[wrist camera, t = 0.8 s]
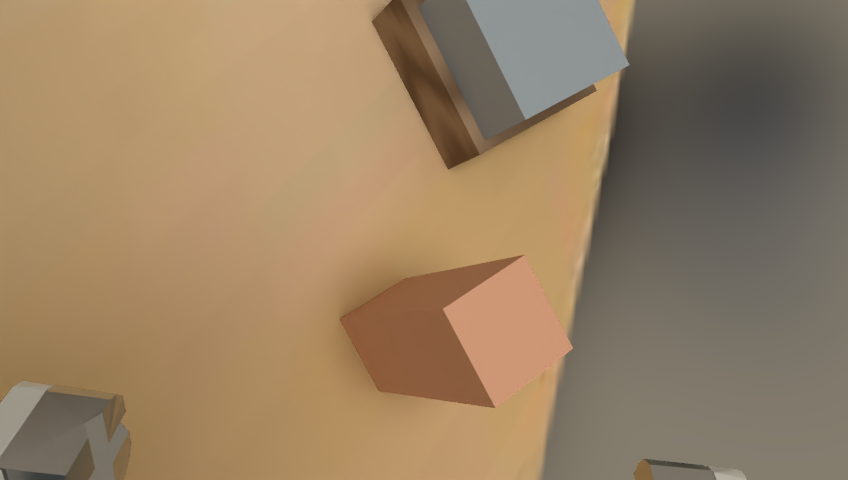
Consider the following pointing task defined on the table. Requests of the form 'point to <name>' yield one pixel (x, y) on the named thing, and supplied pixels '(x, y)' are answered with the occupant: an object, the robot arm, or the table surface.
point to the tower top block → (521, 53)
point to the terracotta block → (459, 333)
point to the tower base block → (442, 86)
